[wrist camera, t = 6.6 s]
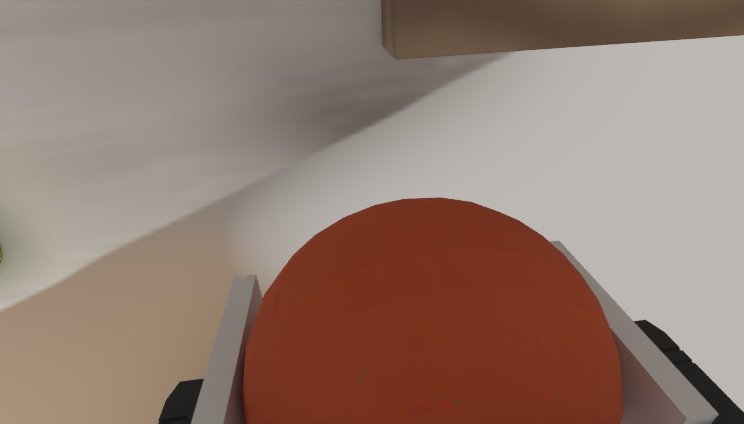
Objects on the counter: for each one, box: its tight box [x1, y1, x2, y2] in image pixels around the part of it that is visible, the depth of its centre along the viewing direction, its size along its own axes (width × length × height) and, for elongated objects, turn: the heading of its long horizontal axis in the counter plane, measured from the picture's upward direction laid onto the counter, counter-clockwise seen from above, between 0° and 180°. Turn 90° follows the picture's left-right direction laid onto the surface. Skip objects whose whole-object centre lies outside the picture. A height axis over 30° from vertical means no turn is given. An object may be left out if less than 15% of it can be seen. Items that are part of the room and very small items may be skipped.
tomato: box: [242, 198, 623, 424], centre depth 11 cm, size 10×10×10 cm
